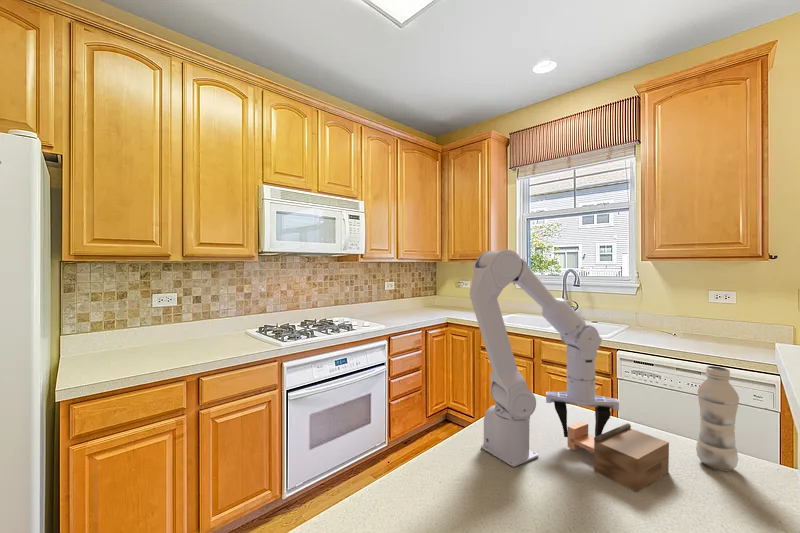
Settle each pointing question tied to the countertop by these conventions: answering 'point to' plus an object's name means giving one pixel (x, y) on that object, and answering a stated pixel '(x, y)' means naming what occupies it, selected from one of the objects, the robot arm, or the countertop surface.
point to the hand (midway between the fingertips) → (581, 437)
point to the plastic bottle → (717, 420)
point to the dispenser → (630, 457)
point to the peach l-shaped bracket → (580, 437)
